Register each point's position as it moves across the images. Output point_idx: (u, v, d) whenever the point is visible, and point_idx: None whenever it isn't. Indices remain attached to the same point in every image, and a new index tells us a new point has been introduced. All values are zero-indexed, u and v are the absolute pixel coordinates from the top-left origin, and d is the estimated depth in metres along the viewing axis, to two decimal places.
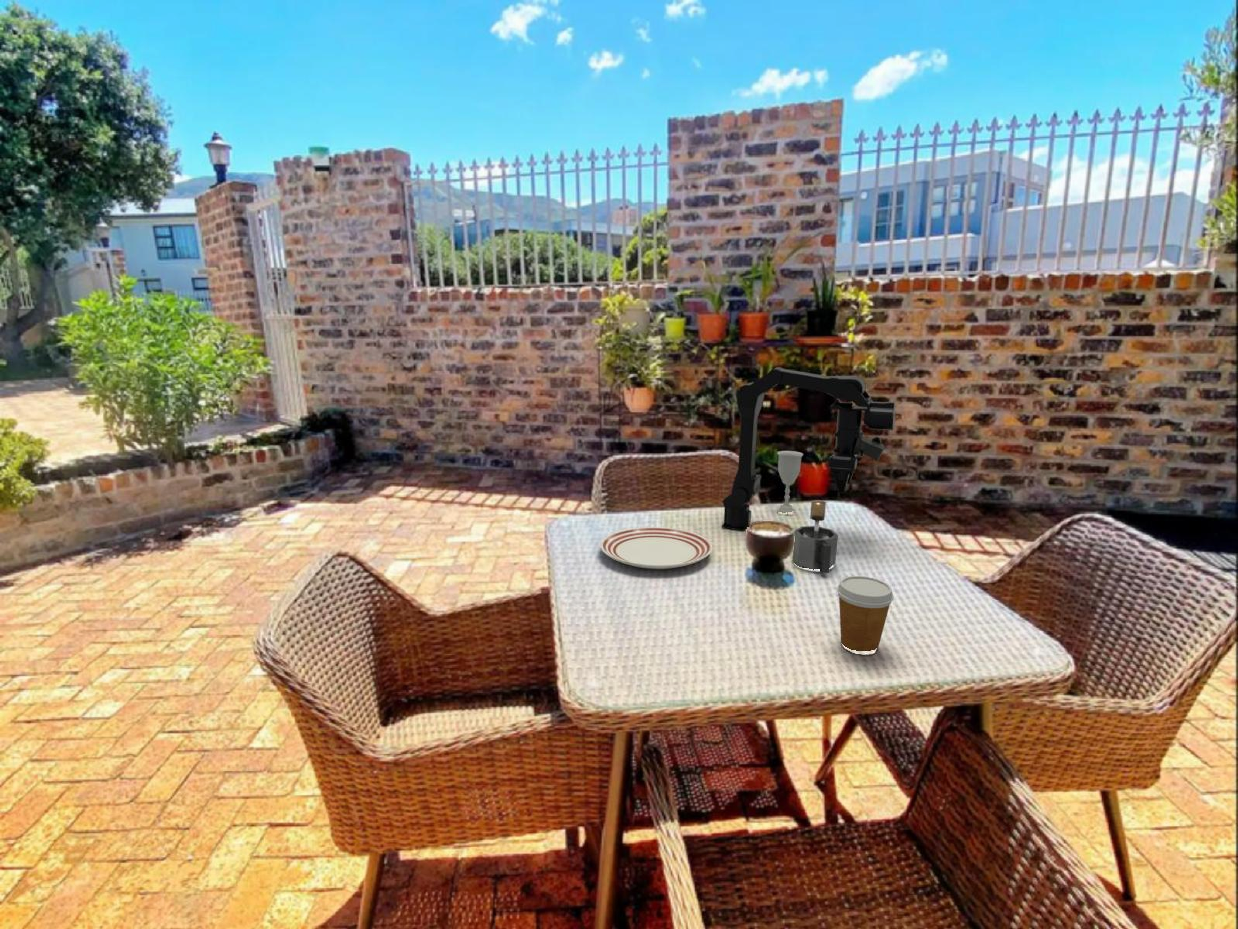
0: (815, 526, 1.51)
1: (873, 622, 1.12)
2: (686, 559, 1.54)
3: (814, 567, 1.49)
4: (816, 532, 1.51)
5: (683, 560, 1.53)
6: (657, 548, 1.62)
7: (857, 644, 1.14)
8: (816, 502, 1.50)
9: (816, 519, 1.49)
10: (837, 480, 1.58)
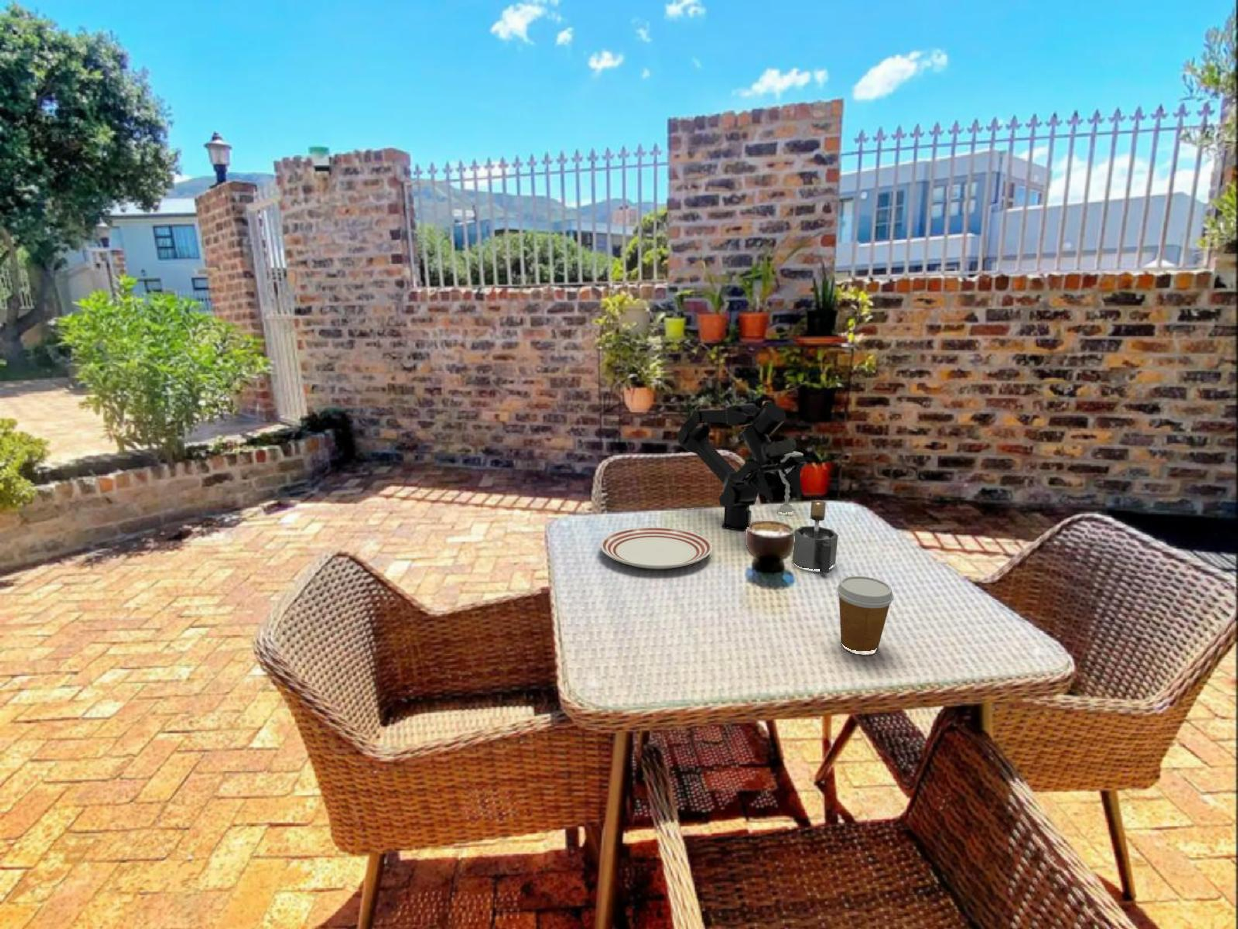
0: (815, 526, 1.51)
1: (873, 622, 1.12)
2: (686, 559, 1.54)
3: (814, 567, 1.49)
4: (816, 532, 1.51)
5: (683, 560, 1.53)
6: (657, 548, 1.62)
7: (857, 644, 1.14)
8: (816, 502, 1.50)
9: (816, 519, 1.49)
10: (760, 490, 1.60)
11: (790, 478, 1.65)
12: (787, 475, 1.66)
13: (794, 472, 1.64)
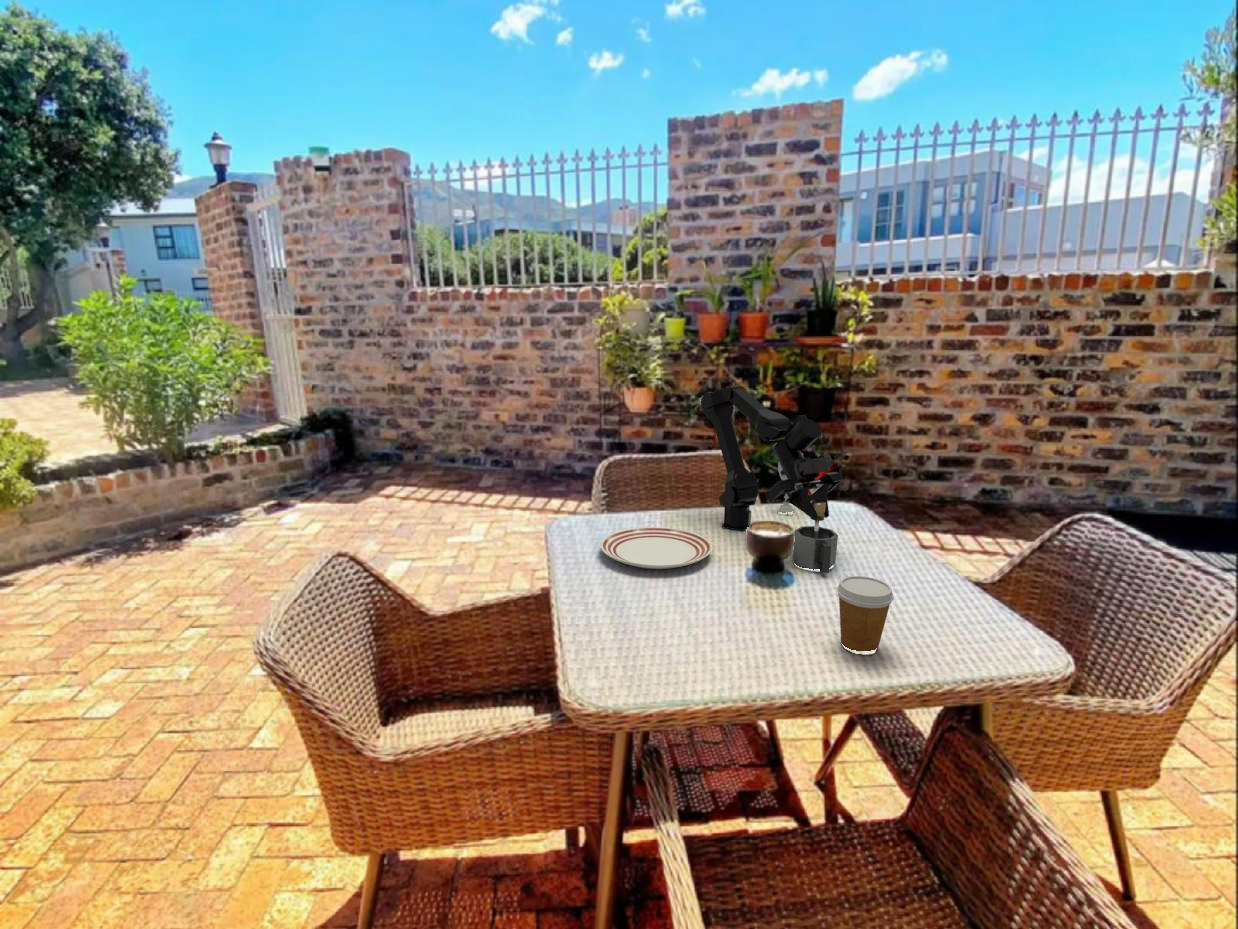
0: (815, 526, 1.51)
1: (873, 622, 1.12)
2: (686, 559, 1.54)
3: (814, 567, 1.49)
4: (816, 532, 1.51)
5: (683, 560, 1.53)
6: (657, 548, 1.62)
7: (857, 644, 1.14)
8: (816, 502, 1.50)
9: (816, 519, 1.49)
10: (803, 509, 1.51)
11: (816, 498, 1.53)
12: (813, 495, 1.54)
13: (820, 492, 1.52)
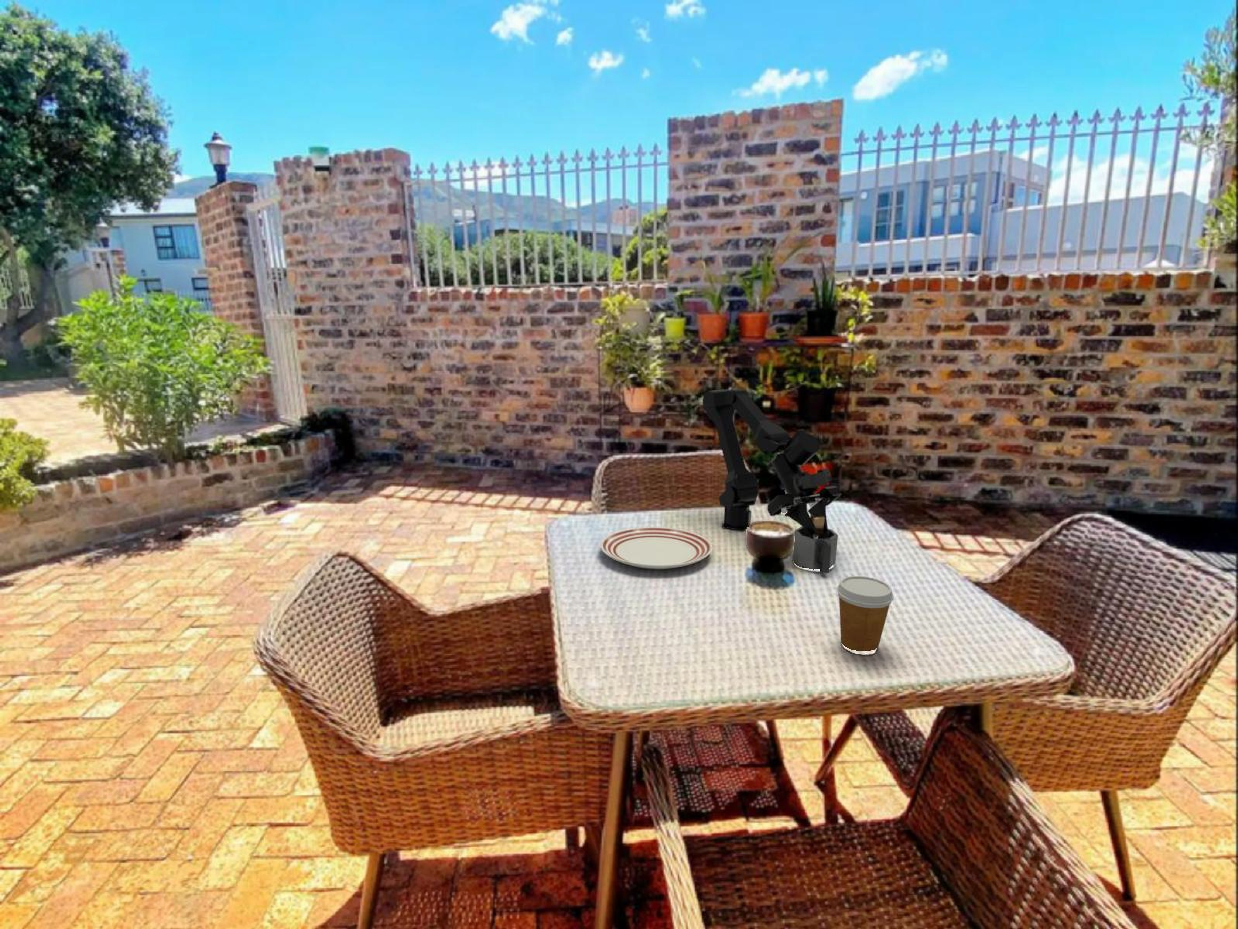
0: None
1: (873, 622, 1.12)
2: (686, 559, 1.54)
3: (814, 567, 1.49)
4: None
5: (683, 560, 1.53)
6: (657, 548, 1.62)
7: (857, 644, 1.14)
8: (815, 516, 1.51)
9: (815, 533, 1.50)
10: (802, 523, 1.51)
11: (815, 512, 1.54)
12: (812, 509, 1.55)
13: (819, 506, 1.53)
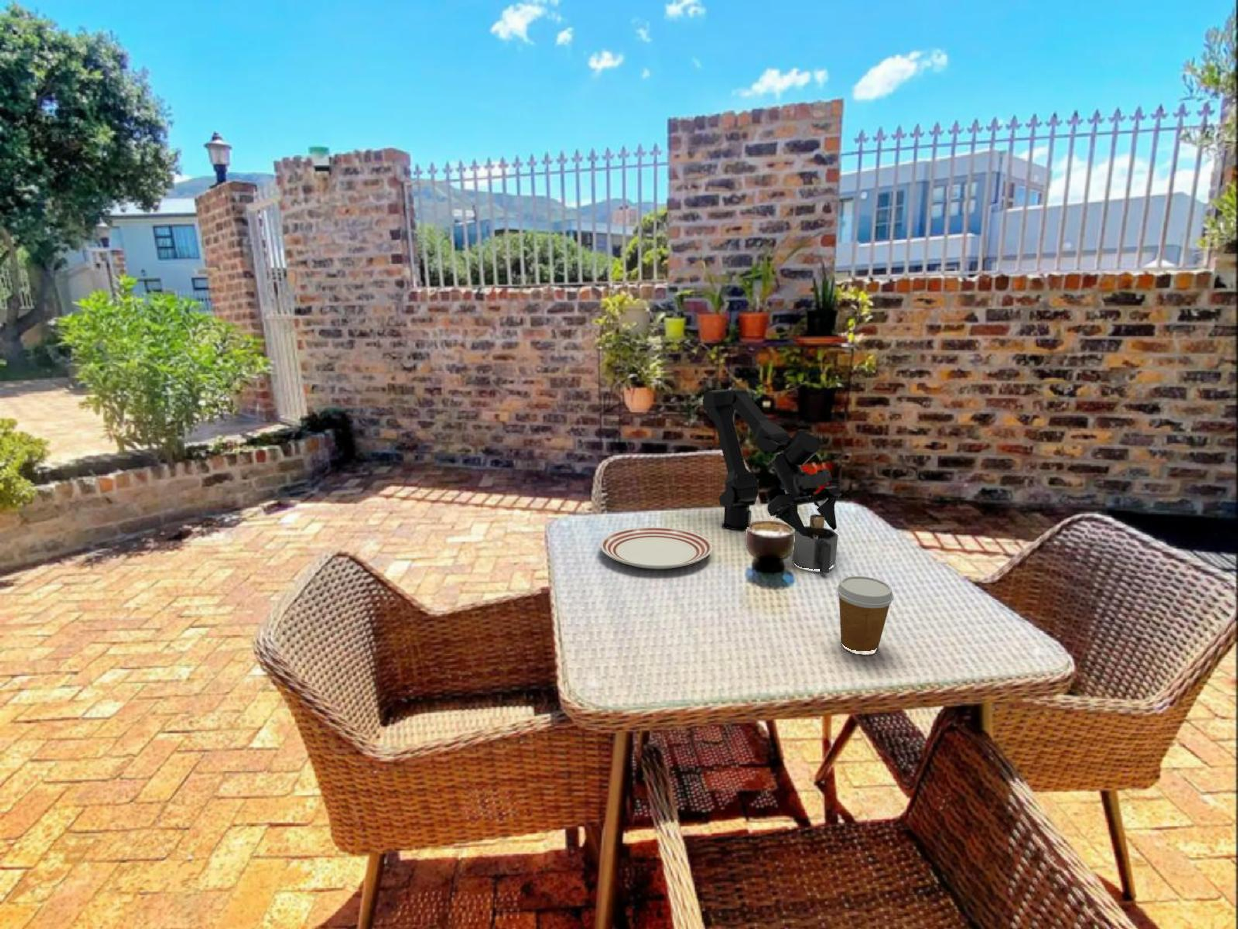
0: None
1: (873, 622, 1.12)
2: (686, 559, 1.54)
3: (814, 567, 1.49)
4: None
5: (683, 560, 1.53)
6: (657, 548, 1.62)
7: (857, 644, 1.14)
8: (815, 516, 1.51)
9: (815, 533, 1.50)
10: (792, 525, 1.50)
11: (824, 511, 1.55)
12: (820, 508, 1.57)
13: (828, 505, 1.54)
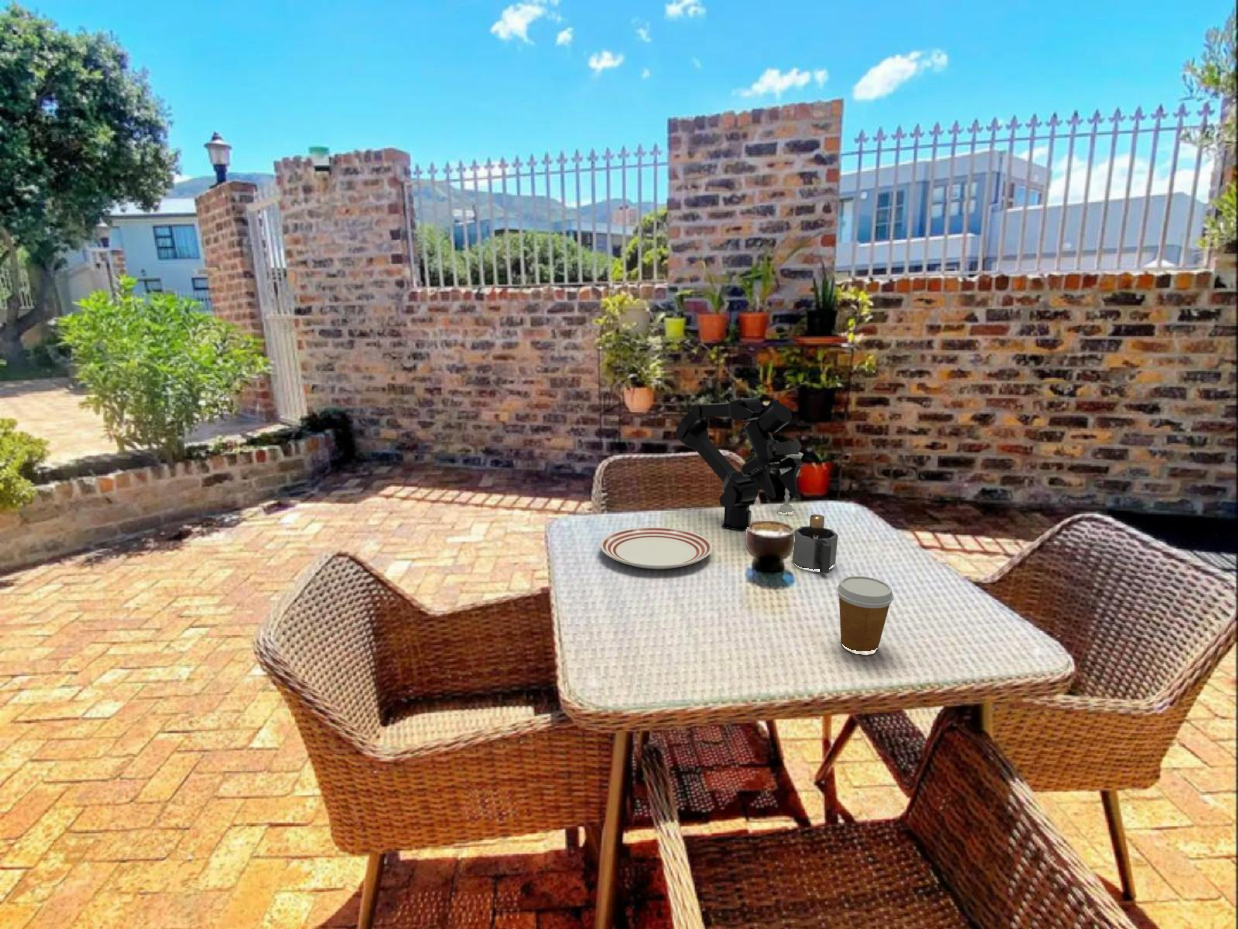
0: None
1: (873, 622, 1.12)
2: (686, 559, 1.54)
3: (814, 567, 1.49)
4: None
5: (683, 560, 1.53)
6: (657, 548, 1.62)
7: (857, 644, 1.14)
8: (815, 516, 1.51)
9: (815, 533, 1.50)
10: (762, 487, 1.60)
11: (786, 478, 1.67)
12: (783, 475, 1.68)
13: (792, 473, 1.66)
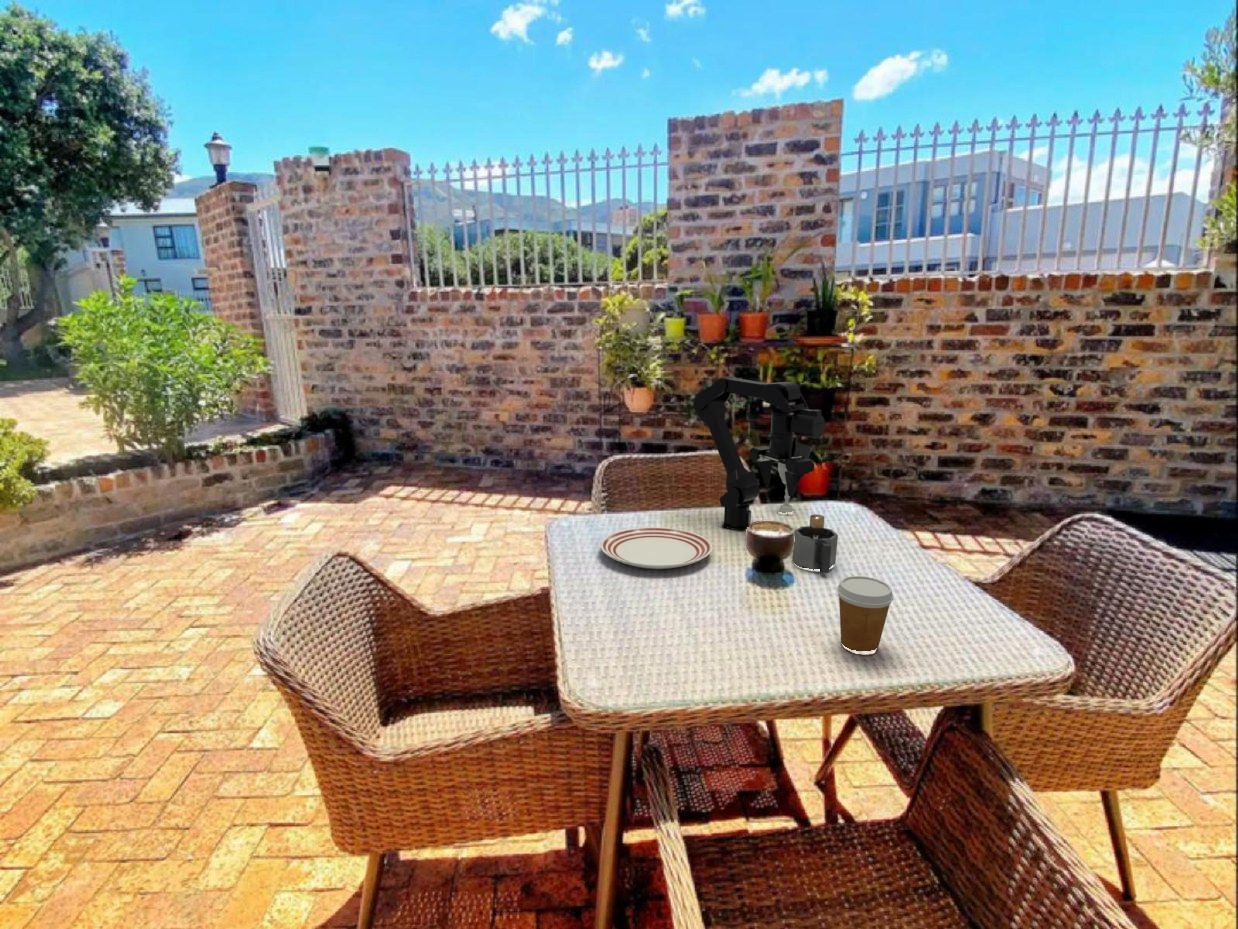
0: None
1: (873, 622, 1.12)
2: (686, 559, 1.54)
3: (814, 567, 1.49)
4: None
5: (683, 560, 1.53)
6: (657, 548, 1.62)
7: (857, 644, 1.14)
8: (815, 516, 1.51)
9: (815, 533, 1.50)
10: (791, 485, 1.61)
11: (765, 467, 1.69)
12: (762, 463, 1.69)
13: (771, 465, 1.70)
